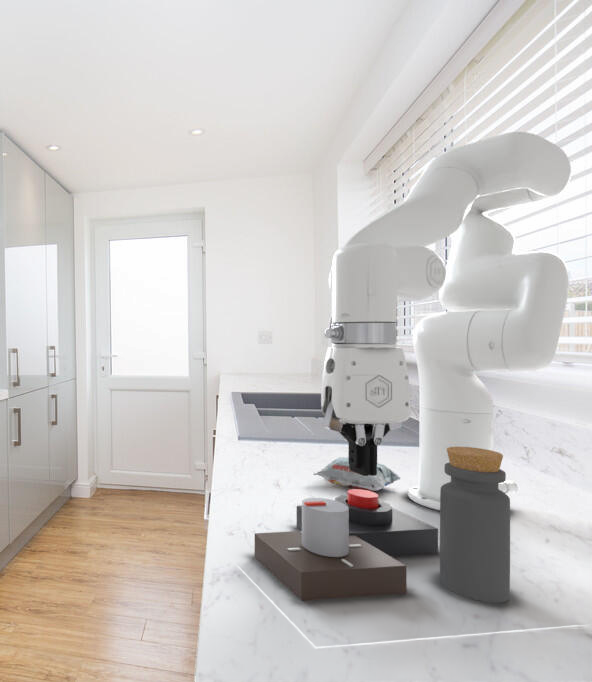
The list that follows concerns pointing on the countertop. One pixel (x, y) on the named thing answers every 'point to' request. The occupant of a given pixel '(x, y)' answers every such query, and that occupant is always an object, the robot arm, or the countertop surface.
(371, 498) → the power button
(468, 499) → the bottle
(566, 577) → the countertop surface
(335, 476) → the packaged food
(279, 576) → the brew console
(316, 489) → the countertop surface
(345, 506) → the dial
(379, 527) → the push button base
